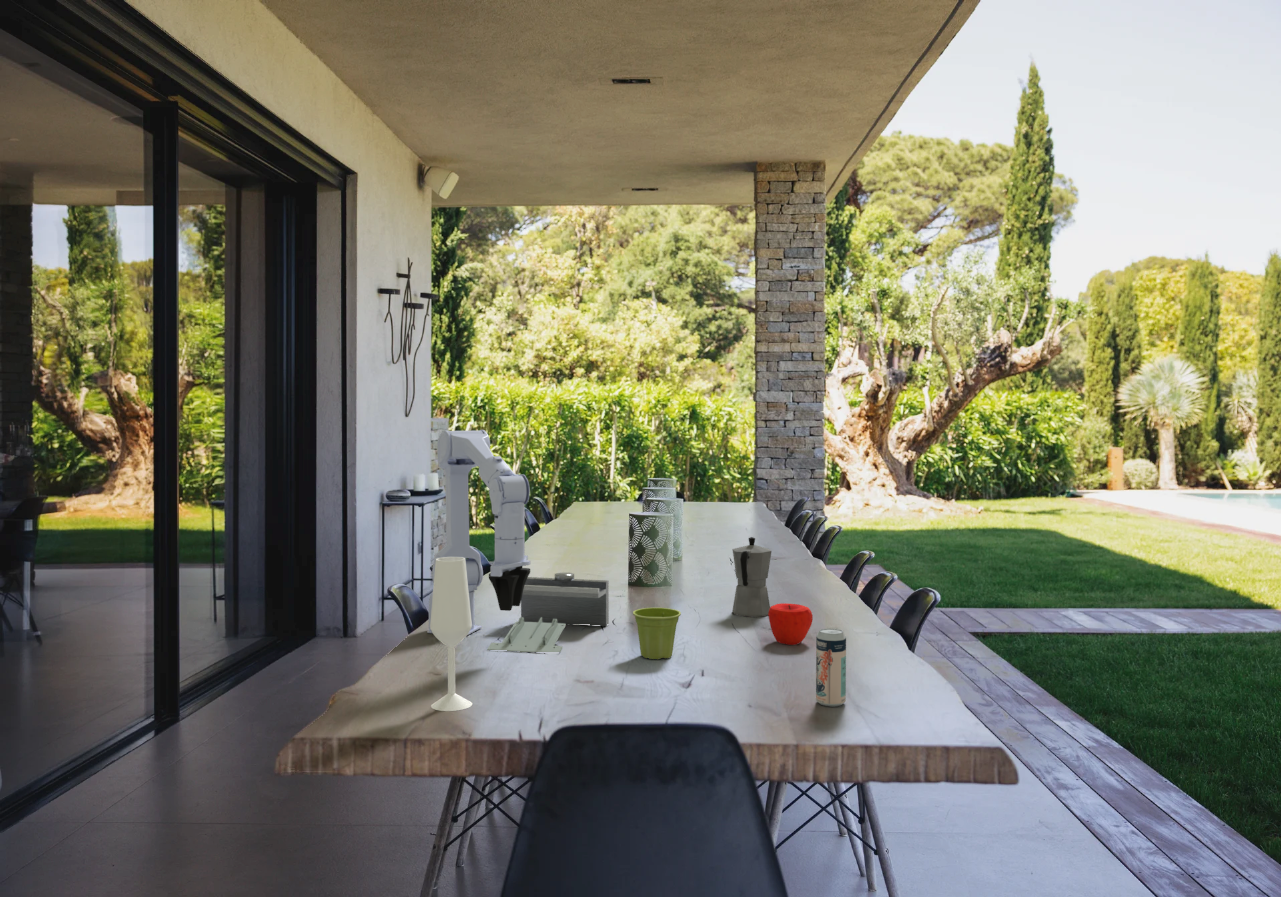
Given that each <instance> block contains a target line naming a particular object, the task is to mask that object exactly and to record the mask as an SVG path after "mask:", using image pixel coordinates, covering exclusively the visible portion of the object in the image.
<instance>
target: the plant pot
mask: <svg viewBox="0 0 1281 897" xmlns="http://www.w3.org/2000/svg"><path fill="white" fill-rule="evenodd" d="M632 614H633V616H634V618H635V622H636V626H637V633H638V634H637V635H638V641H639V642H638V643H639V649H640V656H641V657H643V658H645V659H647V658H649V659H648V660H654V659H657V660H661V659H663V658H664V659H666V658H667V659H670V658H672V657H673V652H674V645H675V644H674V643H675V636H676V630H677V626H678V625H677V624H678V623H679V617H681V615H682V612H681V611H680V610H679V609H673V608H668V607H644V608H638V609H635V610H633V611H632Z"/></svg>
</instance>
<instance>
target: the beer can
mask: <svg viewBox="0 0 1281 897" xmlns="http://www.w3.org/2000/svg"><path fill="white" fill-rule="evenodd" d="M815 644H816V646H815V647H816V648H815V649H816V650H815V651H816V652H815V654H816V655H815V656H816V657H815V701H816V702H817V703H819V704H820V705H821V706H824V707H830V708H831V707H833V708H834V707H835V708H836V707H840V706H842V705H843V704H845V703H846V700H847V699H846V695H847V692H846V691H847V689H846V688H847V683H846V682H847V636H846V634H845V632H844V631H843V629H838V628H821V629H819V630H818V633H817V634H816V640H815Z"/></svg>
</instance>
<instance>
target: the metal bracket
mask: <svg viewBox="0 0 1281 897" xmlns="http://www.w3.org/2000/svg"><path fill="white" fill-rule="evenodd" d="M566 626H567V625H566V624H563V623H557V619H553V621H552V623H542V617H541V618H540V620H539V621H538V622H524V618H523V617H522V618H521V616H520V617H519V618H518V621H515V622H514V623H513V625H512V627H510V630H509V631H508V633H506V635H505V637H504V639H503V640H502V642H491V643H490V644H489V645H488V647H487V649H486V650H507V651H520V652H519V653H522V652H560V653H561V652H562V650H563V648H564V647H563V646H562V645H556V644H557V642H558V640H559V638H560V636H561V634H562V633H563V631H564V629H565V628H566Z"/></svg>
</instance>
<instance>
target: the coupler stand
mask: <svg viewBox="0 0 1281 897" xmlns="http://www.w3.org/2000/svg"><path fill="white" fill-rule="evenodd" d="M609 583H610V582H609V580H603V579H602V580H601V579H580V578H579V579H578V578H575V573H574V572H557V573H554V577H532V576H528V578H527V580H526V582H525V585H524V589H523V593H522V598H521V603H520V617H521V618H522V617H523V618H524V622H538V621H539V620H540V618H541V617H542V623H552V621H553V619H557V623H563V624H590V625H601V626H607V624H609V623H610V622H609V618H610V616H609V614H610V613H609V611H610V610H609V609H610V608H609V600H610V598H609V597H610V596H609V595H610V594H609V592H610V590H609ZM607 627H608V626H607Z"/></svg>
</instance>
